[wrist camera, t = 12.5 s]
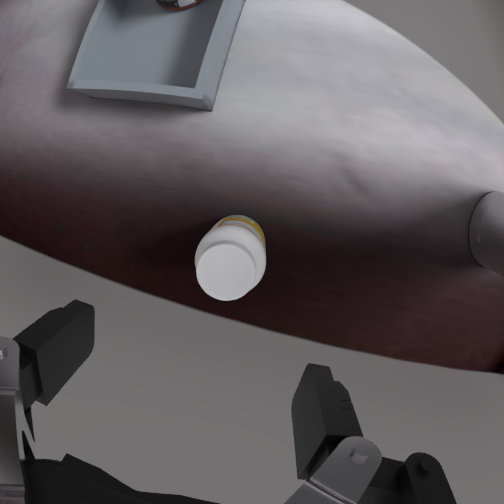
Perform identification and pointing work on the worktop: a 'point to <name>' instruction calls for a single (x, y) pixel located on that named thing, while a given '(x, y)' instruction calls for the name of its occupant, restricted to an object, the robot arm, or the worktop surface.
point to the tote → (156, 52)
